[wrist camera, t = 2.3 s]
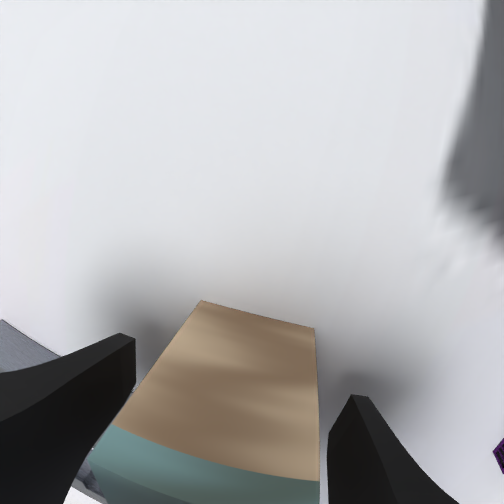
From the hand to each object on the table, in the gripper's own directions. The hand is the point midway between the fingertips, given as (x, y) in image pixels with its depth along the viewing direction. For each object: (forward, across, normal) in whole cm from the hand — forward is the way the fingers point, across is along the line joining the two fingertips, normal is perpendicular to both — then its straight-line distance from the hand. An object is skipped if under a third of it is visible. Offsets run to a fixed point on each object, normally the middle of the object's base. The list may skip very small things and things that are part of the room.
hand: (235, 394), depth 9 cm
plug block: (+2, 0, 0) cm, 2 cm away
